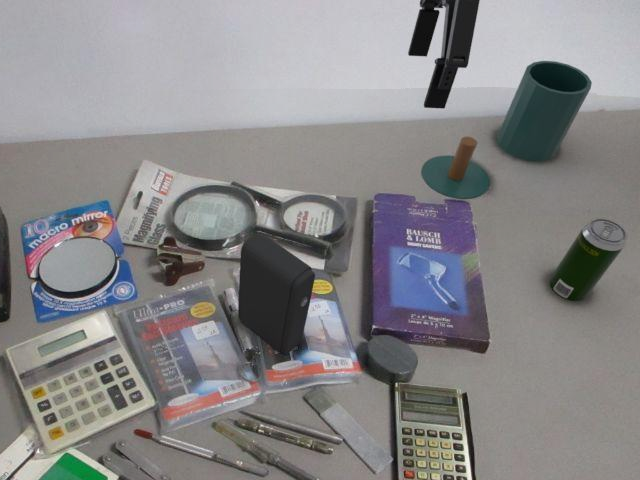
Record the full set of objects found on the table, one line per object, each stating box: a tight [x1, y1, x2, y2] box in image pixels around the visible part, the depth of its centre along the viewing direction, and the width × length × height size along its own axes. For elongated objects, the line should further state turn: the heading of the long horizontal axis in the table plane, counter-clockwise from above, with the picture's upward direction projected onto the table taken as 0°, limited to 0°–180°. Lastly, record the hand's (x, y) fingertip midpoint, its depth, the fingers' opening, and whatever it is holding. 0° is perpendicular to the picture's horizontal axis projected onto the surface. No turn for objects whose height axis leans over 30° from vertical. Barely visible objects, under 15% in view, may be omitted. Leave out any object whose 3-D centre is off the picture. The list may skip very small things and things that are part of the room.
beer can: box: [548, 217, 629, 302], centre depth 82 cm, size 5×5×12 cm
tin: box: [496, 60, 592, 163], centre depth 103 cm, size 10×10×14 cm
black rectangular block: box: [237, 233, 316, 356], centre depth 74 cm, size 9×4×15 cm, turn 45°
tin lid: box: [421, 136, 490, 200], centre depth 99 cm, size 11×11×8 cm
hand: (425, 79), depth 84 cm, fingers open, 13 cm apart
